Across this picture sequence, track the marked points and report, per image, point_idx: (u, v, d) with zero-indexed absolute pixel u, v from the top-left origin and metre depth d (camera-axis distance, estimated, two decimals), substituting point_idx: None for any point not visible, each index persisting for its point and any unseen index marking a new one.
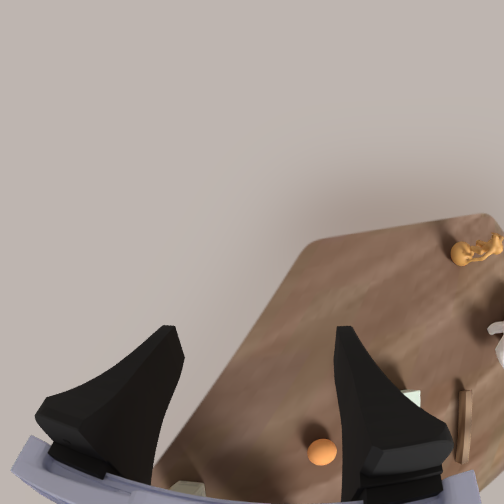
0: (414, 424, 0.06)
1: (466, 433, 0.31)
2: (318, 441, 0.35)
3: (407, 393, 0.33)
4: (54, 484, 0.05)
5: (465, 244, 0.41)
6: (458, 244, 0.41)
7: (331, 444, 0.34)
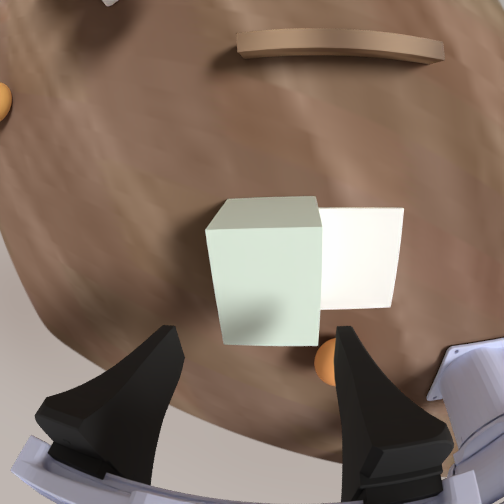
0: (414, 424, 0.06)
1: (362, 44, 0.13)
2: (316, 372, 0.23)
3: (212, 262, 0.16)
4: (54, 484, 0.05)
5: None
6: None
7: (324, 361, 0.22)
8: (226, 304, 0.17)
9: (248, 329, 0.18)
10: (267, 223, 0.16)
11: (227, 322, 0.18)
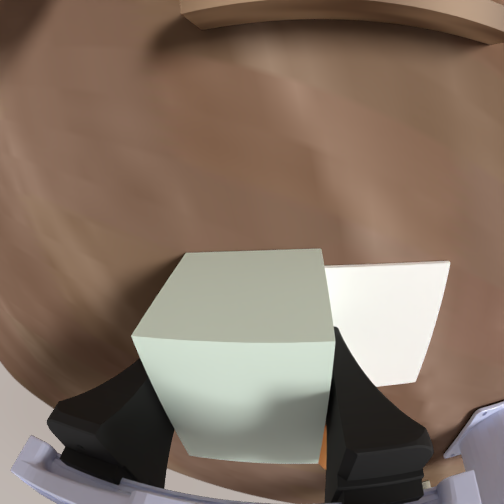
0: (392, 428, 0.06)
1: None
2: None
3: (152, 377, 0.09)
4: (54, 484, 0.05)
5: None
6: None
7: None
8: (184, 423, 0.10)
9: (219, 447, 0.11)
10: (236, 325, 0.09)
11: (189, 438, 0.11)
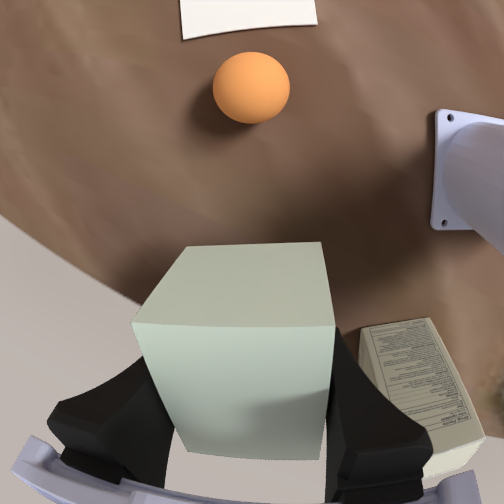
0: (392, 428, 0.06)
1: None
2: (216, 101, 0.15)
3: (151, 366, 0.09)
4: (54, 484, 0.05)
5: None
6: None
7: (220, 68, 0.13)
8: (182, 416, 0.10)
9: (218, 442, 0.11)
10: (235, 312, 0.09)
11: (187, 433, 0.11)
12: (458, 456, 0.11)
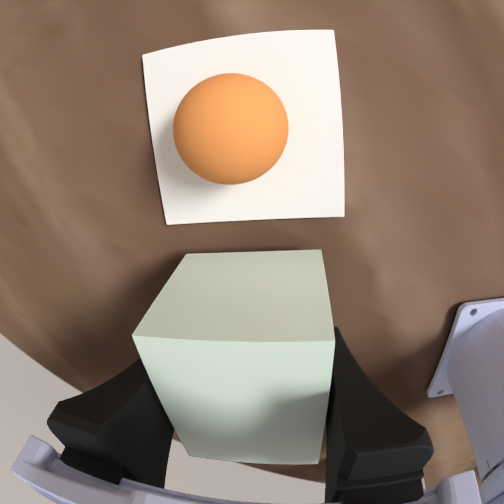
0: (391, 428, 0.06)
1: None
2: None
3: (152, 376, 0.09)
4: (54, 484, 0.05)
5: None
6: None
7: None
8: (184, 423, 0.10)
9: (219, 448, 0.11)
10: (236, 325, 0.09)
11: (189, 439, 0.11)
12: None
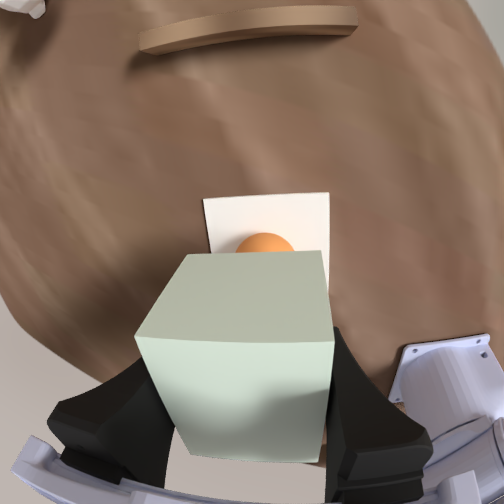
0: (391, 428, 0.06)
1: (259, 23, 0.13)
2: None
3: (154, 376, 0.09)
4: (54, 484, 0.05)
5: None
6: None
7: None
8: (186, 422, 0.10)
9: (220, 446, 0.11)
10: (237, 326, 0.09)
11: (190, 437, 0.11)
12: None
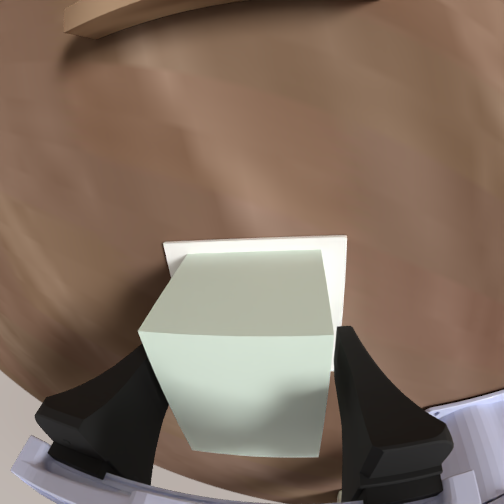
0: (414, 424, 0.06)
1: None
2: None
3: (157, 371, 0.10)
4: (54, 484, 0.05)
5: None
6: None
7: None
8: (188, 417, 0.11)
9: (222, 441, 0.11)
10: (239, 321, 0.09)
11: (192, 433, 0.11)
12: None
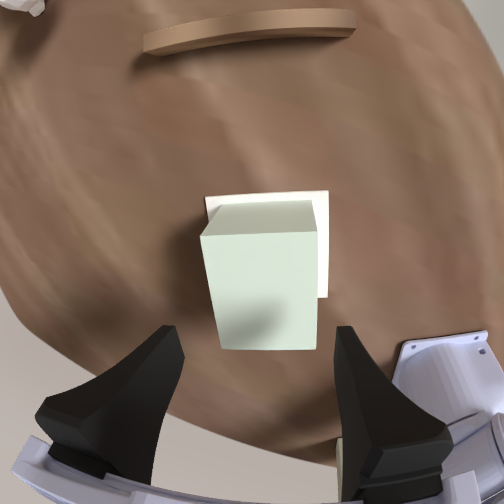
0: (414, 424, 0.06)
1: (260, 25, 0.13)
2: None
3: (208, 268, 0.16)
4: (54, 484, 0.05)
5: None
6: None
7: None
8: (223, 309, 0.17)
9: (245, 334, 0.18)
10: (262, 228, 0.16)
11: (224, 327, 0.18)
12: None
